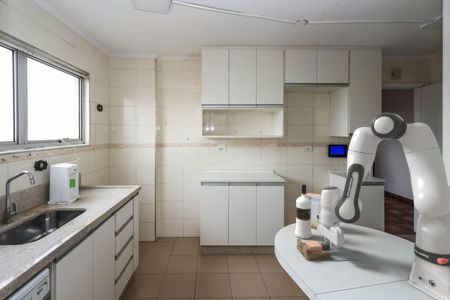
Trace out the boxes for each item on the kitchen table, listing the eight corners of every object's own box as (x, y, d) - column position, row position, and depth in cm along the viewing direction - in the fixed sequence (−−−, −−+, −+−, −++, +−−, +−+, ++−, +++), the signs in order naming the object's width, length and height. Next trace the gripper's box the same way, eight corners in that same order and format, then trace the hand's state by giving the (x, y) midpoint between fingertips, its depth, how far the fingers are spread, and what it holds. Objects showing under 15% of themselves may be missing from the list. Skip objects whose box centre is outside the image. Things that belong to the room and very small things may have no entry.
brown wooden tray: (330, 259, 119) (330, 248, 118) (306, 260, 118) (306, 250, 117) (318, 247, 131) (318, 238, 130) (297, 248, 129) (297, 239, 129)
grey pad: (359, 259, 118) (359, 259, 118) (334, 261, 117) (334, 260, 117) (340, 244, 134) (340, 244, 134) (318, 245, 133) (318, 245, 133)
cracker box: (330, 229, 156) (331, 195, 154) (326, 231, 151) (326, 197, 150) (309, 223, 166) (309, 192, 164) (304, 225, 161) (304, 193, 160)
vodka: (293, 232, 150) (294, 182, 149) (310, 233, 149) (310, 183, 147) (296, 239, 141) (296, 186, 139) (313, 240, 140) (314, 186, 138)
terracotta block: (336, 255, 122) (336, 244, 121) (310, 257, 121) (310, 247, 120) (329, 249, 128) (329, 239, 127) (305, 251, 126) (304, 241, 126)
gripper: (348, 227, 114) (347, 256, 114) (326, 213, 134) (325, 238, 135) (335, 227, 113) (334, 257, 114) (314, 213, 133) (314, 239, 134)
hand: (329, 247), depth 124 cm, fingers closed on terracotta block, 2 cm apart
